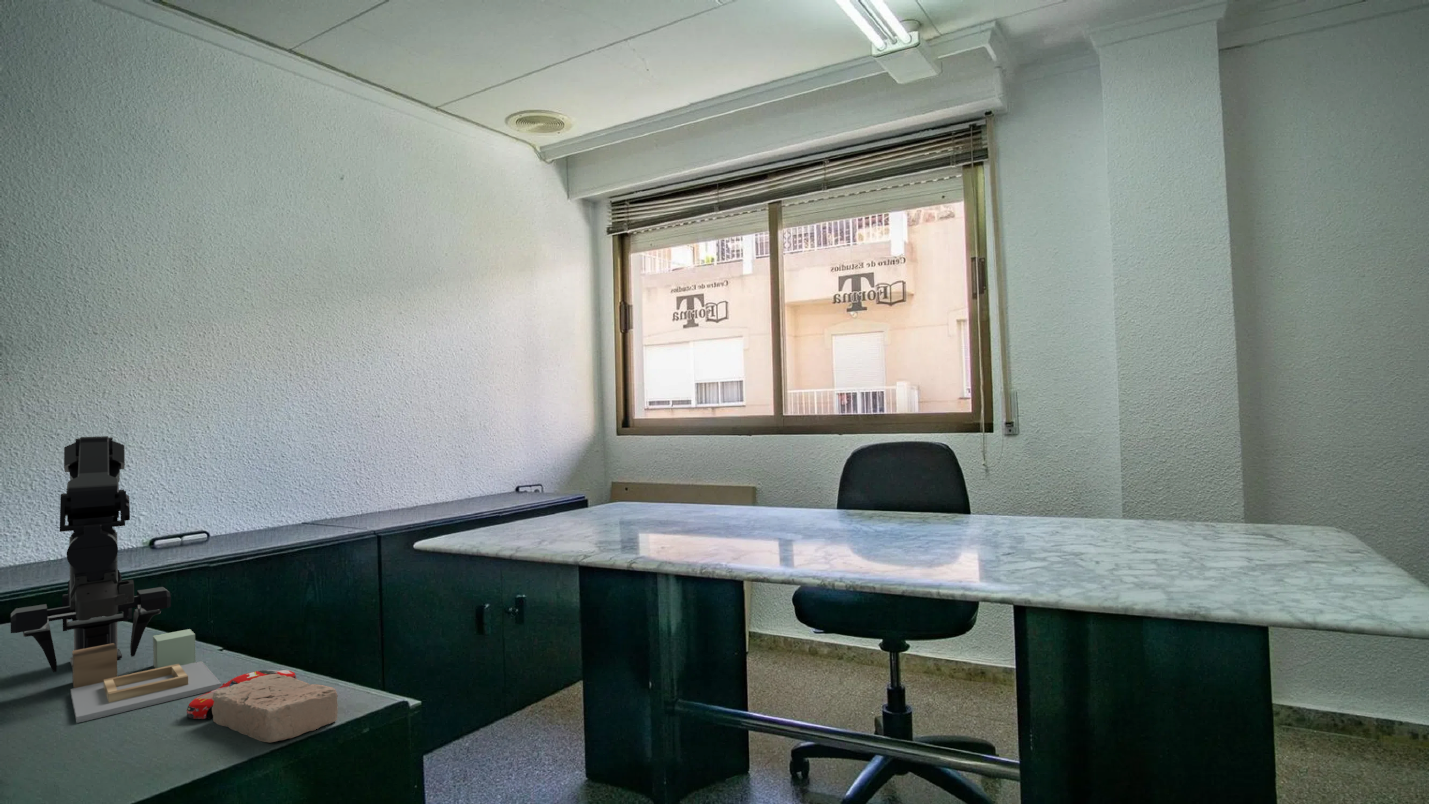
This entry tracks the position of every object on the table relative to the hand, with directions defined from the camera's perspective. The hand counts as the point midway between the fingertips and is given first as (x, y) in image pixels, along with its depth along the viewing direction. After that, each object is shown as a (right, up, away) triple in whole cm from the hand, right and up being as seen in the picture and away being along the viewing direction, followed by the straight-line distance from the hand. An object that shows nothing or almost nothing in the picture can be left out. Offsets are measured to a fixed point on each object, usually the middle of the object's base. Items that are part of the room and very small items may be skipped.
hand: (94, 663), depth 111 cm
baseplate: (+13, -2, -6) cm, 14 cm away
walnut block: (0, -3, 0) cm, 3 cm away
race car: (+32, -1, -12) cm, 34 cm away
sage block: (+7, -3, +7) cm, 10 cm away
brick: (+40, -1, -20) cm, 45 cm away
